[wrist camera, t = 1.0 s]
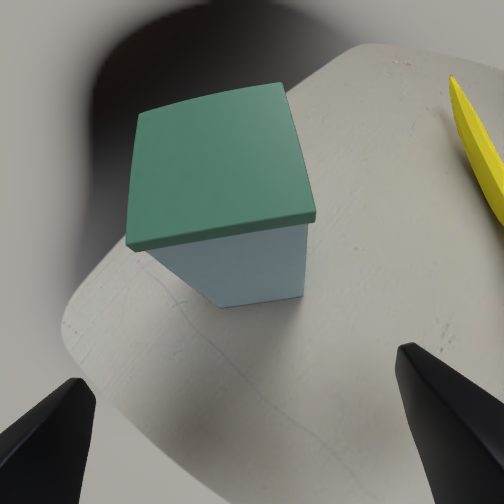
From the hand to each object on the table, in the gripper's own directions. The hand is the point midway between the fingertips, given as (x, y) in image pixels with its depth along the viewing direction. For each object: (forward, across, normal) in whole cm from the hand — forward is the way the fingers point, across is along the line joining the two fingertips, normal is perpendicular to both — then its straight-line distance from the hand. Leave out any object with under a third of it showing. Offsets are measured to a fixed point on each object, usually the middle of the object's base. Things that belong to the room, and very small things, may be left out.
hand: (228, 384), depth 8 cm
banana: (+18, -22, +2) cm, 28 cm away
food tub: (+15, 0, +4) cm, 16 cm away
